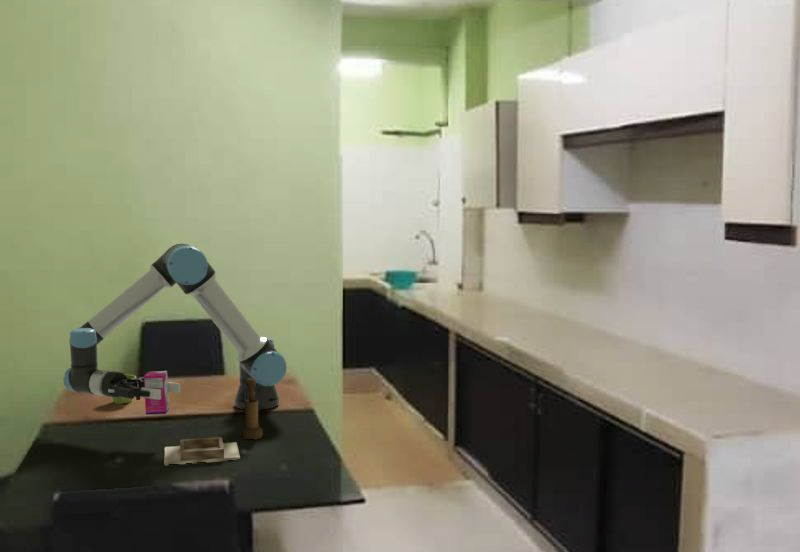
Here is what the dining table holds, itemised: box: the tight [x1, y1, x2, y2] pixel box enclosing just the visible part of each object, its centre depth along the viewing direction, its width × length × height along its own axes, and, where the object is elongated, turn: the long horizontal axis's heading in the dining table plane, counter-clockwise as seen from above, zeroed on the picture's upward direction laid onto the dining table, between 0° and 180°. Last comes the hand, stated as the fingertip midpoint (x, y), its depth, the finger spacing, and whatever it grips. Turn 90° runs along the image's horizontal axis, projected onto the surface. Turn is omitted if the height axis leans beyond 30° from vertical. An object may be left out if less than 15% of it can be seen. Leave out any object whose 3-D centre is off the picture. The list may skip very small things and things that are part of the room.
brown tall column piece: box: [240, 378, 264, 440], centre depth 246 cm, size 7×6×18 cm
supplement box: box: [143, 370, 170, 415], centre depth 238 cm, size 6×6×12 cm
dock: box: [163, 436, 241, 466], centre depth 230 cm, size 20×14×3 cm
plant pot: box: [112, 374, 137, 405], centre depth 286 cm, size 9×9×9 cm
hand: (169, 391), depth 236 cm, fingers closed on supplement box, 8 cm apart
